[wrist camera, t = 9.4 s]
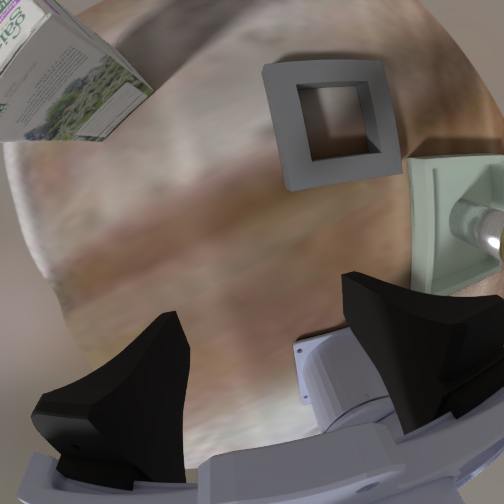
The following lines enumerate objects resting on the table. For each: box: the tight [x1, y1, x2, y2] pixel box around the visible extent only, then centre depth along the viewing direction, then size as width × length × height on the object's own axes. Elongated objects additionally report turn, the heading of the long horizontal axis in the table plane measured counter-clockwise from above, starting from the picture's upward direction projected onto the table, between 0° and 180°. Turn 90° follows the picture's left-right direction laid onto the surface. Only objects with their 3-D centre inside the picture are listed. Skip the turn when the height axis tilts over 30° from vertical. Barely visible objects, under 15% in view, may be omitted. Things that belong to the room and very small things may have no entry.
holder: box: [262, 59, 403, 192], centre depth 18 cm, size 9×9×2 cm
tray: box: [407, 153, 504, 296], centre depth 21 cm, size 13×13×2 cm
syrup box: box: [0, 0, 154, 143], centre depth 10 cm, size 6×6×14 cm
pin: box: [449, 199, 504, 262], centre depth 18 cm, size 4×4×8 cm
